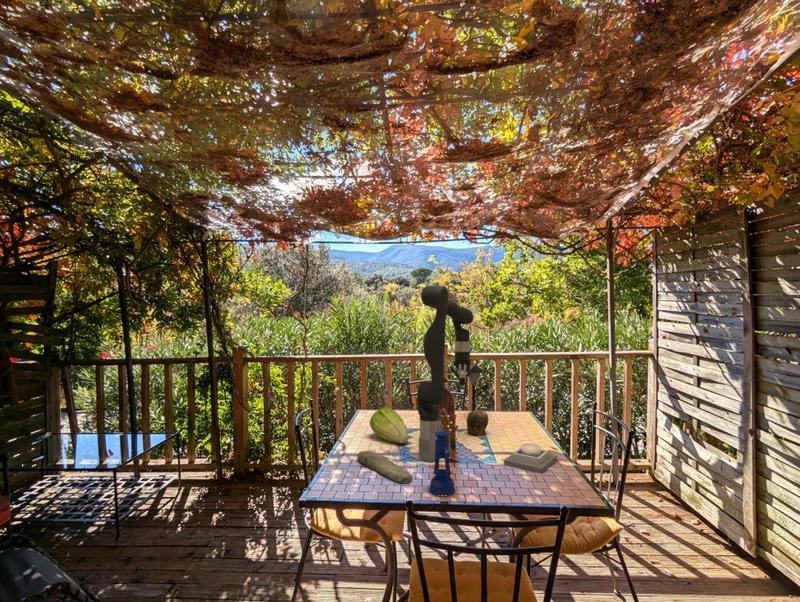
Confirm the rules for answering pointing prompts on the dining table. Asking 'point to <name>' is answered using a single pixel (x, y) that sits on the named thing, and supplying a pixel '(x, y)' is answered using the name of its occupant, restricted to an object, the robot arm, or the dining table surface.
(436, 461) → the lantern
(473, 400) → the solar garden light
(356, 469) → the dining table surface
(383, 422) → the lettuce
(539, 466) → the button plate
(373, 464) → the long grey stone
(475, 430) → the brown rounded block
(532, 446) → the button
